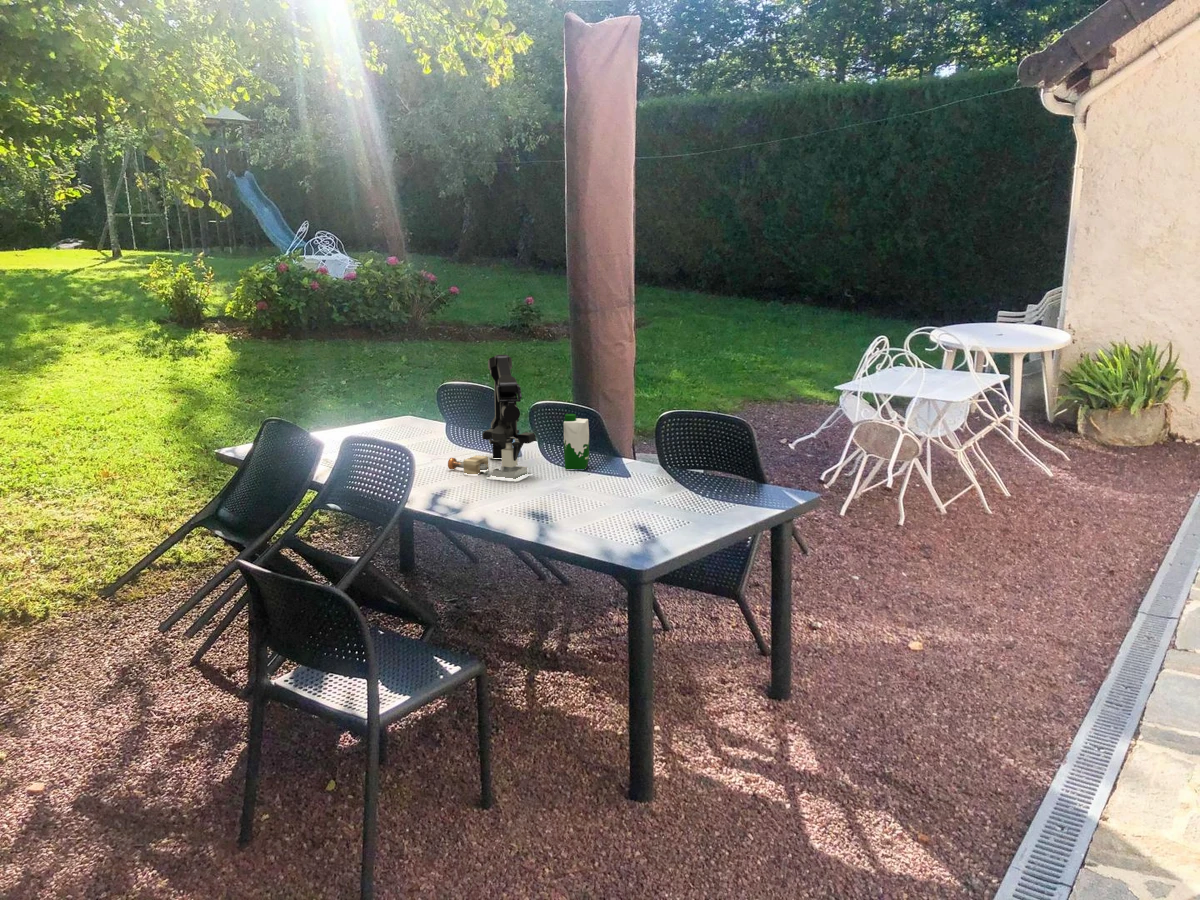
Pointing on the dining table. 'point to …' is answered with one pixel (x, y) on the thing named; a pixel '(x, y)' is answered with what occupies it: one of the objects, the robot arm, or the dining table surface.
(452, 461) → the pin
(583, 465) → the milk carton
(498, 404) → the robot arm
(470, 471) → the mount
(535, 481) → the dining table surface
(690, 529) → the dining table surface
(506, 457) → the spigot
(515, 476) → the socket
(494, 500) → the dining table surface
